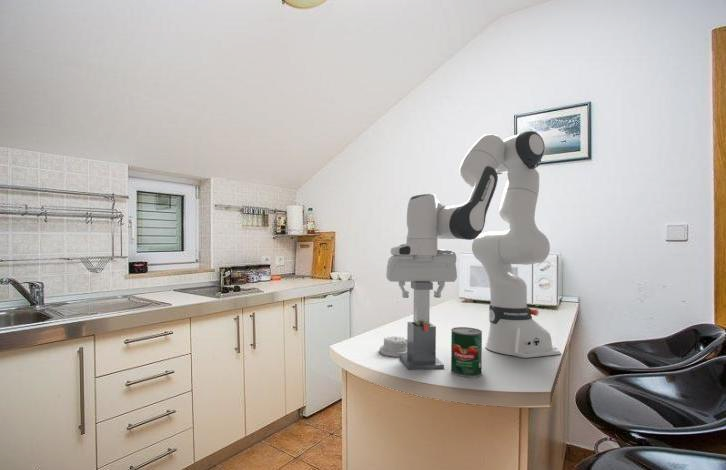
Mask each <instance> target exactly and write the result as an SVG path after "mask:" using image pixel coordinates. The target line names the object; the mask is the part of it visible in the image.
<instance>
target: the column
mask: <svg viewBox="0 0 726 470" xmlns="http://www.w3.org/2000/svg"><path fill="white" fill-rule="evenodd" d="M410 288H411V289H413V319H412V320H413V321H412V322H413V324H414V325H415V326H422V323H428V326H429V322H430V306H431V305H430V304H431V303H430V299H431V298H430V297H431V296H430V294H431V293H430V291H433V290H434V282H410Z"/></svg>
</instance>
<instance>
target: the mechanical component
mask: <svg viewBox="0 0 726 470" xmlns="http://www.w3.org/2000/svg"><path fill="white" fill-rule="evenodd" d="M379 353H380V354H381V355H384V356H386V357H395V358H400V355H407V338H405V337H401V336H387V337H384V338H383V345H381V346H380V347H379Z"/></svg>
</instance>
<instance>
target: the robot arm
mask: <svg viewBox="0 0 726 470" xmlns="http://www.w3.org/2000/svg"><path fill="white" fill-rule="evenodd" d="M545 149H546V148H545V141H544V139H543V137H542V136H541V135H540V134H539V133H538V132H536V131H533V130H530V131H524V132H520V133H518V134H516V135H513V136H510V137H507V138H505V139H504V140H503V138H501V137H500V136H498V134H497V135H496V134H492V133H486V134H483V135H482V136H481V137H480V138H478V139H477V141H475V142H474V144H472V146H471V148H470V149H469V150H468V151H467V153H466V154H465V156H464V157H463V159H462V160H461V163H460V166H459V176H460V177H461V180H462V181H463V182H464V183H465V184H466V185H467V186H469V187H471V188H473V189H472V191H471V193H470V195H469V198H468V199H467V201H465V202H464V203H461V204H458V205H457V204H456V205H451V206H446V205H444V204H443V203H441V202H440V201H439V200H438V199H437V198H436V197H437V196H436V194H434V193H422V194H417V195H413V196H411V197H410V198H409V200H408V203H407V210H406V211H407V212H406V227H407V235H406V243H404V244H400V245H398V246H393V247H392V248H391V249H390V254H391V256H390V257H389V258H388V260H387V266H386V273H385V274H386V279H387V280H388V281H389V282H392V283H394V282H398V287H399V289H400V290H401V292H402V293H401V296H402V298H403V299H408V298H409V296H410V292H409V291H408V290H406V288H405V287H404V286H406V283H408V282H409V283H411V282H433V283H436V282H437V285H438V288H437V289H436V290H434V291H433V297H434V298H435V299H437V298H438V299H439V298H441V297H442V294H441V293H442V291H443V289H444V288H445V286H446V284H445V283H446V282H448V283H449V282H452V283H454V282H456V280H457V279H458V275H457V274H458V272H457V265H456V263H457V254H456V252H454V251H453V250H451V249H438V239H440V240H441V239H442V240H443V239H444V240H449V239H450V240H455V239H456V240H458V239H459V240H467V241H468V240H469V241H471V240H472V243H471V250H472V254H473V256H474V258H475V259H476V260H477V261H479V262H480V263H481V265H482V266H483V268H484V269H485V271H486V273H487V277H488V281H489V292H490V304H489V307H488V309H489V311H488V318H489V321H488V322H489V329H488V337H487V340H486V343H485V348H486V349H487V350H489V351H492V352H494V353H498V354H503V355H508V356H509V355H510V356H514V357H517V358H523V359H525V358H527V359H528V358H529V359H530V358H536V357H537V358H538V357H545V356H546V357H547V356H554V355H557V356H558V355H561V350H560V349H559V348H558V347H556V346H554V345H553V342H552V337H551V333H550V332H549V331H548V330H547V329H545V327H543V326H542V325H540V324H539V323H538V322H536V321H535V320H534V319H533V316H537V317H538V315H539V314H540V313H539V310H538V309H536V308H530V307H528V303H527V302H528V300H527V299H528V298H527V297H528V296H527V295H528V291H527V289H528V287H527V283H526V281H525V280H524V279H523V278H522V277H520V276H519V275H517V274H516V272H514V270H513V267H512V265H524V266H526V265H534V264H540V263H543V262H544V261H546V259H547V258H548V256H549V255H550V249H551V245H550V241H549V239H548V238H547V236H546V235H545V234H544V233H543V232H542V231H540V230H539V228H538V227H537V225H536V221H535V216H536V215H535V214H536V207H537V203H538V198H539V194H540V193H539V191H540V173H539V171H538V170H537V169H536V168H538V167H539V166H540V164H541V162H542V159H543V157H544V153H545ZM503 173H504V174H505V173H506V175H507V181H506V183H505V185H504V186H505V187H504V190H503V192H502V193H503V194H502V198H501V202H500V206H499V210H498V212H499V216H500V217H501V219H502V220H503V221H504V222H506V223H507V224H509V228H508V229H507V230H503V231H501V230H498V231H497V230H496V231H487V232H484V233H482V232H483V230H484V227H485V225H486V216H487V213H488V211H489V207H490V204H491V202H492V199H493V196H494V194H495V192H496V188H497V185H498V177H499V176H498V175H501V174H503Z"/></svg>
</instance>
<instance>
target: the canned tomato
mask: <svg viewBox="0 0 726 470" xmlns="http://www.w3.org/2000/svg"><path fill="white" fill-rule="evenodd" d="M450 330H451V336H450V337H451V340H450V341H451V342H450V343H451V345H450V347H451V349H450V351H451V352H450V353H451V354H450V355H451V356H450V357H451V358H450V359H451V360H450V365H451V366H450V371H451V373H452V374H454V375H457V376H459V377H463V378H477V377H478V378H479V377H480V376H481V375H482V374H483V372H482V369H483V368H482V367H483V365H482V364H483V362H482V358H483V356H482V355H483V352H482V351H483V341H482V340H483V336H482V335H483V331H482V330H481V329H479V328H473V327H468V326H467V327H466V326H464V327H463V326H459V327H458V326H457V327H452V328H451V329H450Z"/></svg>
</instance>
